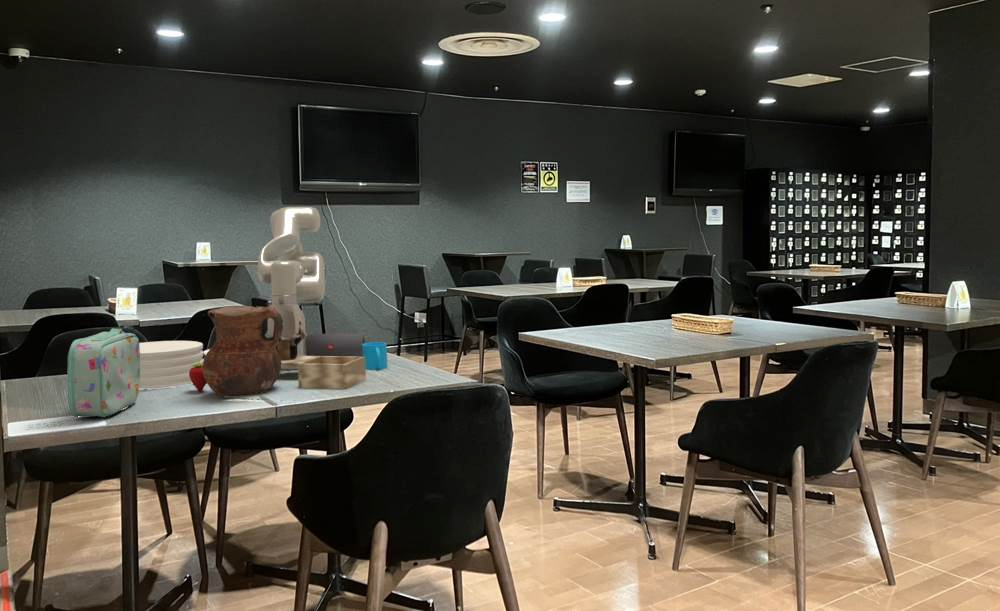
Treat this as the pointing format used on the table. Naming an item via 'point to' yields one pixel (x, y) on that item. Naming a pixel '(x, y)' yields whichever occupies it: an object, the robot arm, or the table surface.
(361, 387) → the table surface
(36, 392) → the table surface
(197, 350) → the plate stack
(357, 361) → the storage box
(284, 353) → the lid
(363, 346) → the mug
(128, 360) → the lunch box
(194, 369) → the strawberry
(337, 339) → the bluetooth speaker
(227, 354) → the jug
